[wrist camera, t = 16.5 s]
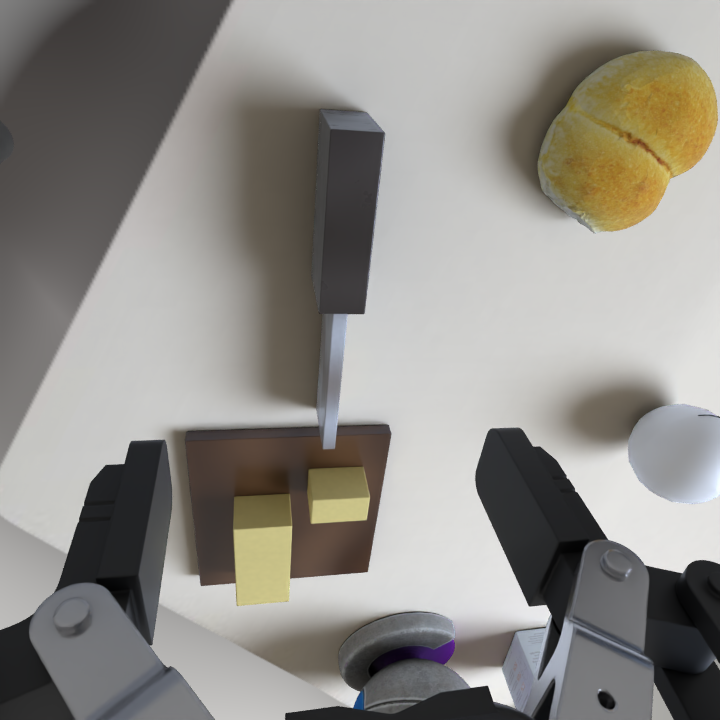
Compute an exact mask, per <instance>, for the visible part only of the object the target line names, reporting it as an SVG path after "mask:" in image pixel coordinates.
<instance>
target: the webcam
mask: <svg viewBox="0 0 720 720" xmlns="http://www.w3.org/2000/svg"><path fill="white" fill-rule="evenodd" d="M454 638H455V629H454V626H453V622H452V621H451V620H450V619H448V618H446V617H444V616H441V615H437V614H433V613H422V612H416V613H404V614H398V615H393V616H389V617H386V618H383V619H380V620H377V621H374V622H372V623H370V624H368V625H366V626H364V627H362V628H361V629H359V630H358V631H356V632H355V633H354V634H353V635H351V636H350V637H349V638H348V639H347V640H346V641H345V642H344V644H343V645H342V647H341V649H340V651H339V656H338V659H339V667H340V672H341V675H342V678H343V679H344V681H345V682H346V683H347V684H348V685H349V686H350V687H351V688H353V689H355V690H357V691H360V694H359V696H358V697H357V700H356V702H355V705H354V707H353V708H354V709H360V710H367V711H374V712H381V713H387V714H393V713H397V712H400V711H402V710H404V709H406V708H408V707H410V706H413V705H415V704H417V703H419V702H421V701H423V700H425V699H427V698H430V697H432V696H434V695H436V694H438V693H440V692H446V691H453V690H461V689H468V688H470V687H469V685H468V684H467V683H466V682H465V681H464V680H463V679H462V678H461V677H460V676H459V675H458V674H457V673H456V672H454V671H453V670H451V669H450V668H448V667H446V666H444V664H445V663H446V662H447V661H448V660H449V659H450V657H451V656H452V654H453V652H454V649H455V643H454V640H453V639H454Z"/></svg>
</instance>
